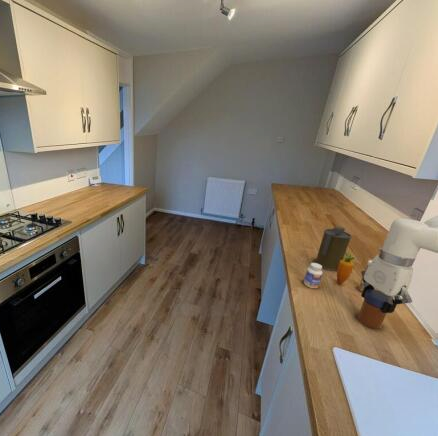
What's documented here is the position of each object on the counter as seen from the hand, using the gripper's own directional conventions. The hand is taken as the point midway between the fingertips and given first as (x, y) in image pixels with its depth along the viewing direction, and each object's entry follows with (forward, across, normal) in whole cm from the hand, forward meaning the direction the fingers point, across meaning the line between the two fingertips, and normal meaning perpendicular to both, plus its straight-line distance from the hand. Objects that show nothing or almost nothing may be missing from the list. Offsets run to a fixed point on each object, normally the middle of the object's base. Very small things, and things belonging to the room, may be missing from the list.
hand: (375, 303), depth 80 cm
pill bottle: (+8, -21, -6) cm, 23 cm away
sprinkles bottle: (+8, -17, +14) cm, 23 cm away
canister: (+8, -37, +14) cm, 40 cm away
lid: (-3, 0, 0) cm, 3 cm away
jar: (+8, 0, 0) cm, 8 cm away
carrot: (+8, -22, +7) cm, 24 cm away
